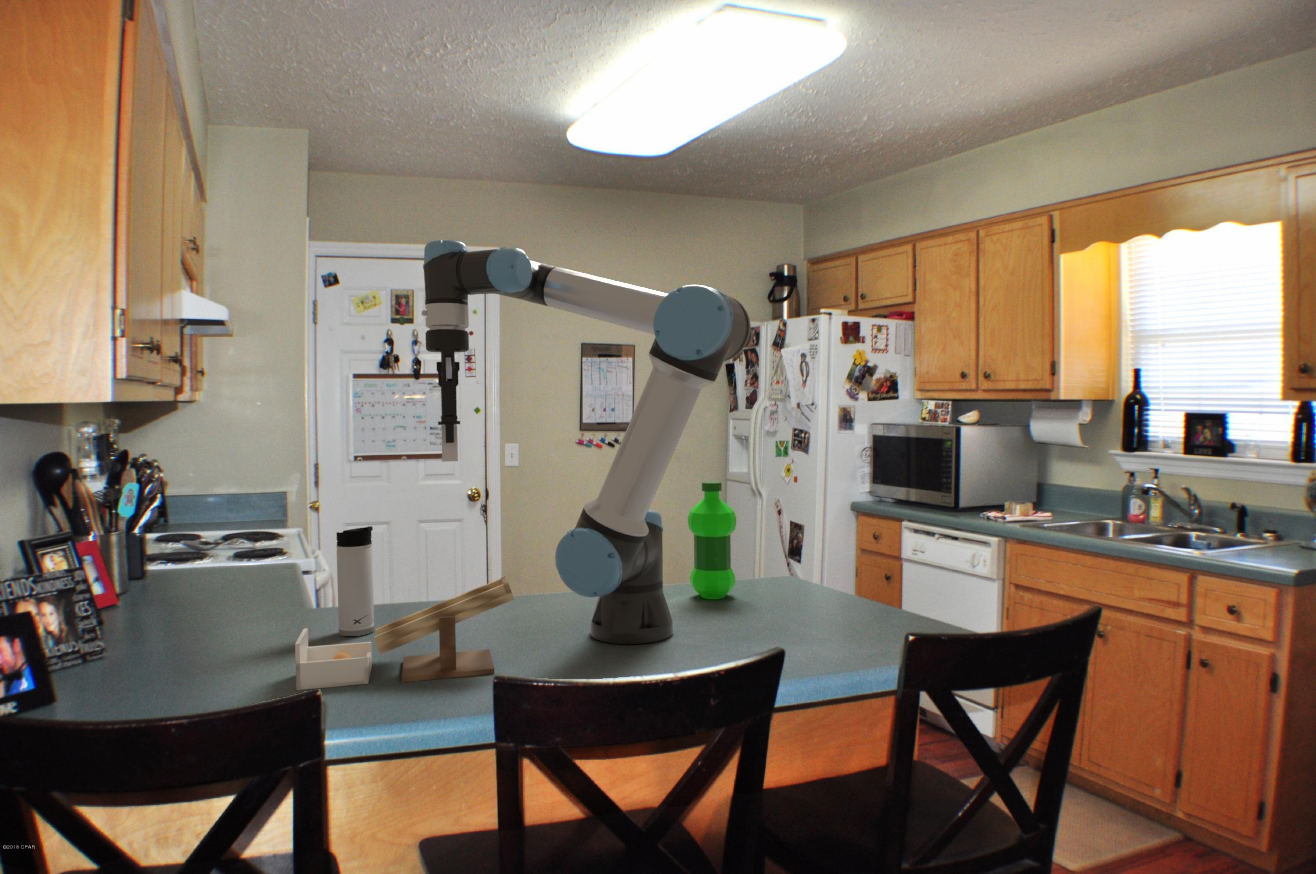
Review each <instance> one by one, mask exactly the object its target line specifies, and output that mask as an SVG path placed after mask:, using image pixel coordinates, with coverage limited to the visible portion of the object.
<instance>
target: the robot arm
mask: <svg viewBox="0 0 1316 874" xmlns="http://www.w3.org/2000/svg"><path fill="white" fill-rule="evenodd" d="M423 250H424V251H423V252H424V254H423V265H422V269H423V279H424V297H425V298H424V305H425V306H424V308H425V309H423V310H422V311H421V316H424V317H425V319H424V320H425V327H426V328H428V330H426V331H425V333H424V334H425V349H426V351H427V352H430V353H440V361H436V372H437V376H438V377H437V380H438V383H437V384H438V386H439V387H440V402H441V404H440V405H441V406H440V407H441V409H440V410H441V416H440V419H441V420H440V421H437V425H438V426H441V461H442V462H458V461H459V456H458V455H459V453H458V448H459V447H458V445H459V444H458V425H461V420H458V414H457V413H458V408H457V405H458V404H457V402H458V401H457V387H458V385H459V372H460V371H461V370H460V361H456V359H455V356H456V353H466V352H468V351H469V349H470V343H469V341H470V337H469V336H470V335H469V333H470V332H468V330H466V329H468V327H470V323H469V322H470V321H469V320H470V317H469V295H470V296H472V295H473V296H474V295H489V294H490V295H493V294H494V295H499V296H503V297H509V298H513V299H518V300H522V301H526V302H528V303H533V304H536V305H541V306H545V307H549V308H554V309H558V310H562V311H565V312H569V313H571V314H576V315H580V316H582V317H587V318H591V319H595V320H598V321H601V322H602V321H603V322H605V323H610V324H614V325H616V326H620V327H625V328H629V329H633V330H636V331H639V332H644V333H646V334H651V335H654V339H653V342H652V344H651V347H650V349H649V352H648V357H649V360H650V362H651V366H652V370H651V372H650V373H649V376H648V378H647V381H646V383H645V385H644V388H643V390H642V393H641V394H640V397H639V400H638V402H637V404H636V406H635V409H634V411H633V414H632V416H631V418H630V421H629V423H628V426H627V428H626V430H625V432H624V435H623V438H622V439H621V442H620V444H619V447H618V449H617V451H616V454H615V456H614V458H613V461H612V463H611V465H610V467H609V470H608V472H607V475H606V477H605V479H604V482H603V484H602V487H601V488H600V489H601V490H600V492H599V493H598V496H597V498H595V499H593V500H590V501H587V502H586V503H585V504H584V506H583V508H582V510H581V512H580V515H579V517H578V519H577V522H576V525H575V527H574V528H573V529H571V530H569V531H567V532H566V533H565V534H564V535H563V536H562V537H561V539H560V540H559V541H558V543H557V546H556V549H555V554H554V562H555V567H556V570H557V571H558V575H559V577H560V580H561V581H562V583H563V584H564V585H565V586H566V587H567V589H569V590H570V591H572V592H573V593H574V594H577V595H578V596H582V597H584V598H597V600H596V603H595V606H594V610H593V614H592V617H591V620H590V636H591V637H592V638H593V639H594V640H597V641H601V642H603V643H610V644H619V645H638V644H642V645H643V644H649V643H655V642H659V641H663V640H666V639H667V638H669V637H671V636H672V635H673V634H674V622H673V618H672V615H671V612H670V608H669V606H668V603H667V600H666V597H665V594H664V584H663V580H664V576H663V573H664V572H663V571H664V569H663V562H664V561H663V558H664V556H663V554H664V552H663V549H664V548H663V532H664V527H663V521H662V515H661V514H660V512H659V511H657V510H651V509H650V508H651V505H652V503H653V502H654V501H653V500H654V498H655V495H656V494H657V491H658V489H659V487H660V485H661V482H662V480H663V478H664V475H665V473H666V471H667V469H668V466H669V464H670V461H671V460H672V457H673V455H674V452H675V450H676V447H677V446H678V444H679V441H680V439H681V438H682V437H681V436H682V434H683V432H684V430H685V427H686V425H687V422H688V420H689V418H690V416H691V414H692V412H693V409H694V408H695V407H694V406H696V405H695V404H696V402H697V400H698V398H699V396H700V393H701V391H702V389H703V388H705V387H708V386H710V385H712V384H713V385H714V384H715V383H716V380H717V378H718V376H719V373H720V371H721V369H722V367H723V364H724V362H727V361H731V360H733V359H734V358H735V357H737V356H738V355H739V354H740V353H741V352H742V351H743V350H744V349H745V348H746V345H747V344H748V342H749V339H750V335H751V327H752V325H751V324H752V323H751V319H750V316H749V314H748V313H749V312H748V311H747V310H746V308H745V307H744V305H743V304H742V303H741V302H740V301H739V300H737V299H736V298H734V296H731V295H728V294H726V293H723V292H722V291H720V290H717V289H716V288H715V287H710V286H707V285H703V284H702V285H700V284H687V285H683V286H680V287H677V288H676V289H675V288H674V290H672V291H670V292H669V293H666V292H663V291H662V292H661V291H657V290H653V289H650V288H646V287H641V286H637V285H633V284H629V283H626V282H625V283H624V282H621V281H615V280H612V279H608V278H604V277H600V276H597V275H592V274H588V273H583V272H580V271H575V270H571V269H568V268H567V269H566V268H563V267H559V266H555V265H551V264H548V263H543V262H539V261H535V260H531V259H530V258H529V256H528V255H527V254H526V252H525V251H524V250H523V249H522V248H518V247H516V248H515V247H514V248H513V247H511V248H509V247H508V248H507V247H500V248H493V249H484V250H473V251H468V247H467V245H466V244H465V243H464V242H462V241H460V240H452V239H451V240H449V239H447V240H443V239H442V240H438V239H436V240H432V241H429V242H427V243H426V244H425V246H424V249H423Z"/></svg>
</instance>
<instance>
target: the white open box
mask: <svg viewBox="0 0 1316 874" xmlns="http://www.w3.org/2000/svg"><path fill="white" fill-rule="evenodd" d="M294 646H295V647H294V648H295V649H294V650H295V651H294V653H295V656H294V657H295V679H296V680H295V681H296V682H295V683H296V684H295V685H296V686H295V687H296V688H295V689H296V691H305V690H313V689H323V688H324V689H325V688H334V687H345V686H355V685H356V686H357V685H366V684H367V685H368V684H369V682H370V681H369V680H370V677H371V672H372V667H373V665H372V664H373V660H372V659H373V657H372V656H373V655H372V654H373V652H372V647H373V646H372V641H364V642H363V641H362V642H353V643H352V642H351V643H349V642H348V643H338V644H326V645H313V646H311V645H310V646H309V628H308V627H307V628H303V630H302V631H301V633H300V635H299V636H298V638H297V639H296V641H295V643H294ZM340 653H346V654H348V655H349V656H350V657H351V658H345V659H333V658H334V657H335V656H336V655H337V654H340ZM332 659H333V660H332Z"/></svg>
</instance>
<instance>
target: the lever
mask: <svg viewBox="0 0 1316 874" xmlns="http://www.w3.org/2000/svg"><path fill="white" fill-rule="evenodd" d="M513 600H515V596H514V595H513V592H512V589H511V587H510V583H509V582H508V580H507V577H506V576H502V577H500V578H498V579H496V580H494V581H491V582H489V583H486V584H483V585H481V586H479V587H476V588H473V589H472V590H468V591H467V592H464V593H462V594H459V595H457V596H456V595H455V596H454V597H452V598H449V599H446V600H443V601H442V602H439V603H437V604H436V603H435V605H432V606H429V607H426V608H424V609H421V610H419V611H417V612H414V613H412V614H409V615H407V616H404V617H402V618H400V619H398V620H395V621H393V622H390V623H387V624H385V625H383V626H380V627H377V628H375V632H376V635H374V636H373V640H374V642H375V645H376V647H377V650H378V653H379V655H383V654H385V653H387V652H390V651H393V650H395V649H397V648H399V647H400V648H401V647H402V646H404V645H407V644H410V643H411V642H415V641H417V640H420V639H421V638H424V637H427V636H429V635H431V634H433V633H437V632H439V630H440V626H439V616H453V615H455V625H456V624H458V623H460V622H462V621H465V620H467V619H470V618H472V617H475V616H478V615H480V614H482V613H485V612H487V611H489V610H493V609H495V608H497V607H499V606H502V605H504V604H506V603H509V602H511V601H513Z"/></svg>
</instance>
